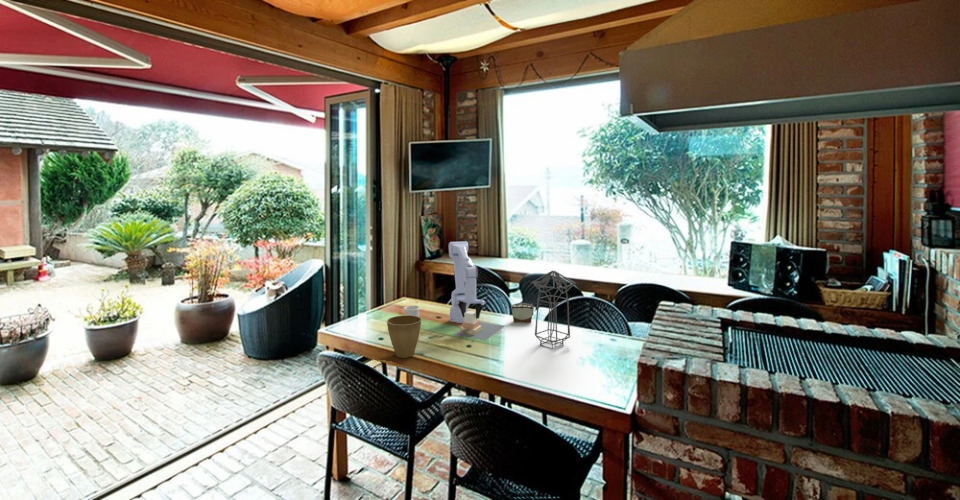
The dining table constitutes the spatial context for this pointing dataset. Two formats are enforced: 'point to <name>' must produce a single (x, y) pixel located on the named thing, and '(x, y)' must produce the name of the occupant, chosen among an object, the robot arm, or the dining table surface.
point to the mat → (483, 331)
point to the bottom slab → (471, 330)
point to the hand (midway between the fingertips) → (470, 317)
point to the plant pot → (404, 334)
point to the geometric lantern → (551, 304)
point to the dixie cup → (412, 310)
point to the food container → (522, 312)
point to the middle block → (471, 325)
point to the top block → (470, 317)
